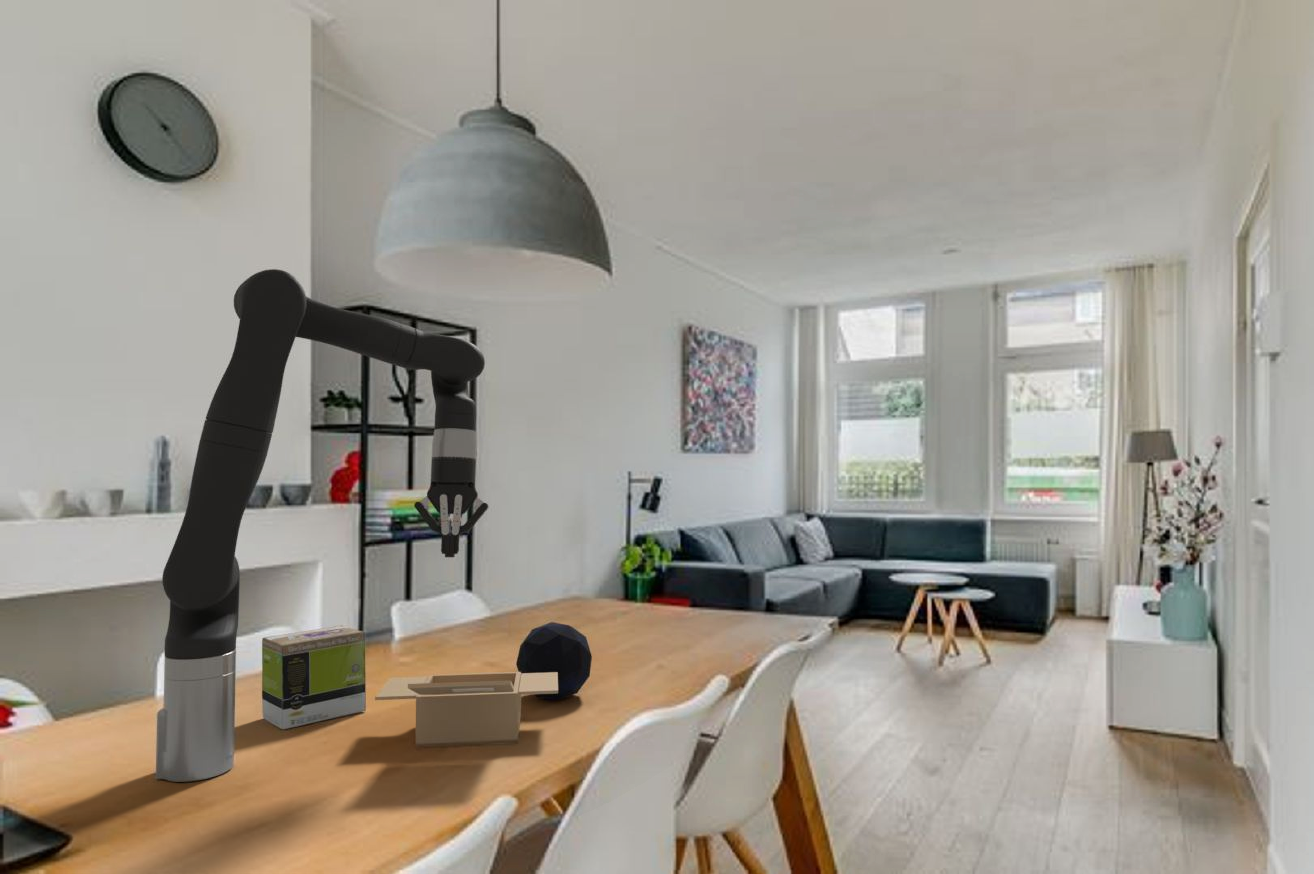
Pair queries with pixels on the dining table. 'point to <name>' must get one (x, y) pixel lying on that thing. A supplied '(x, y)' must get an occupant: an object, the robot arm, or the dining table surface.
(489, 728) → the carton
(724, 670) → the dining table surface
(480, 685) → the cardboard box flap
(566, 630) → the decorative orb
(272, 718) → the tea box
